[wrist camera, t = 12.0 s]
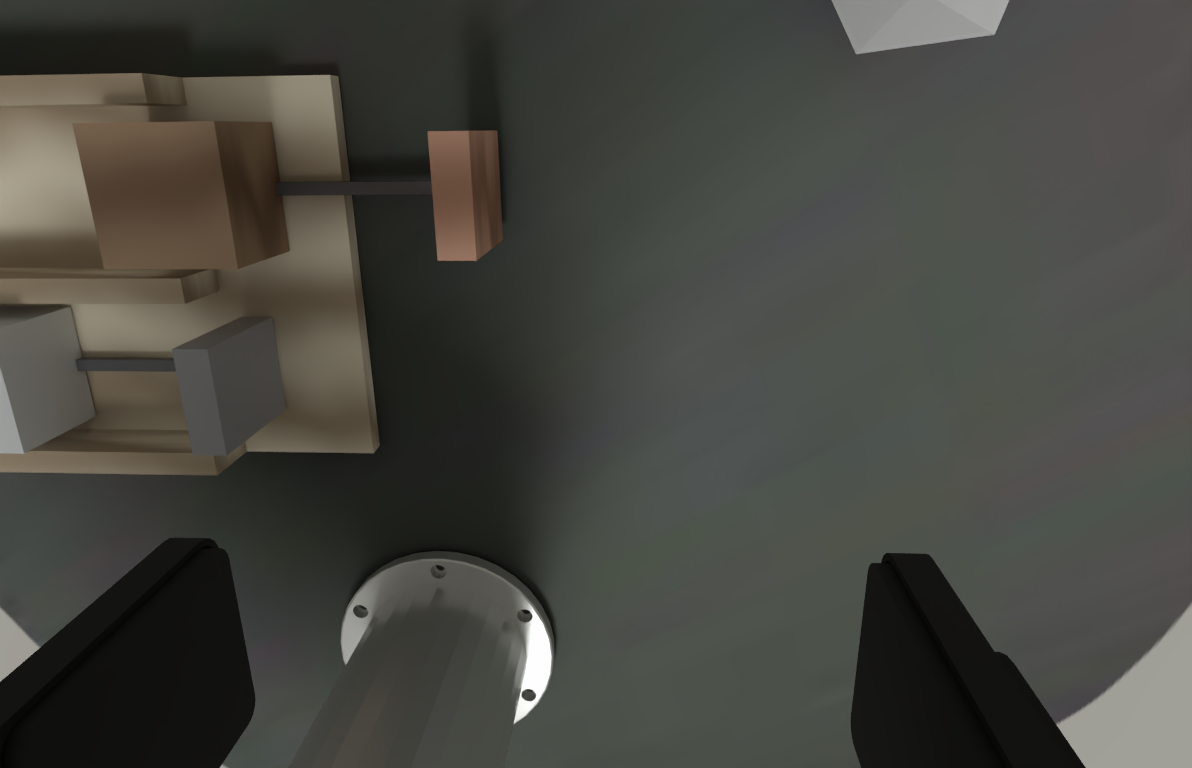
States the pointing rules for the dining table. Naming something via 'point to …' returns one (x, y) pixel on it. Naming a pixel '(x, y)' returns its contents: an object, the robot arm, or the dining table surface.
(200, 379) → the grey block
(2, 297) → the lane shelf
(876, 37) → the die
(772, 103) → the dining table surface
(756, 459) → the dining table surface
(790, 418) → the dining table surface
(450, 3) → the dining table surface
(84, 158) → the walnut block
